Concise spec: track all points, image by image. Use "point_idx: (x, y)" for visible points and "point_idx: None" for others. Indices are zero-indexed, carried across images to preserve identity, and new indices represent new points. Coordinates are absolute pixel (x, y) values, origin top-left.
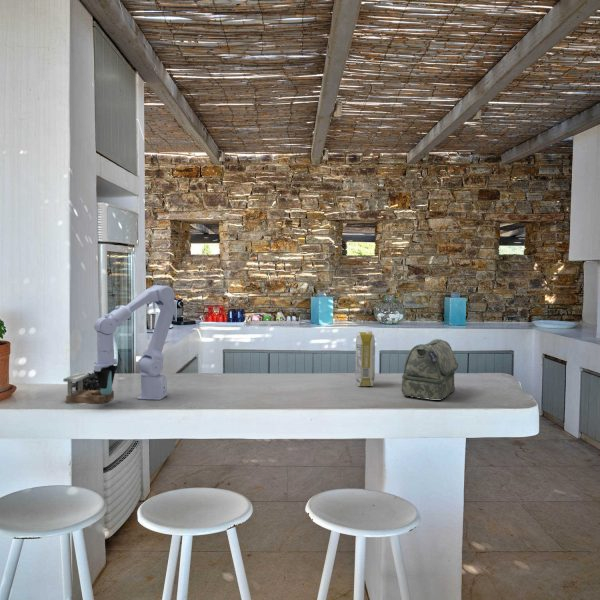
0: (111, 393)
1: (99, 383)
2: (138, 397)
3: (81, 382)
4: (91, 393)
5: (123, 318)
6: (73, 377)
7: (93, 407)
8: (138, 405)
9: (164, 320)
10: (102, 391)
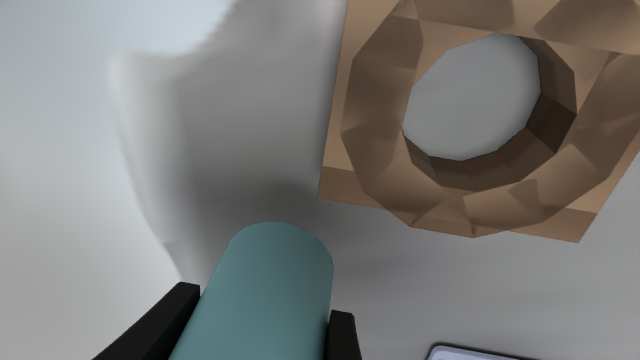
0: (518, 226)
1: (129, 329)
2: (446, 357)
3: None
4: (521, 35)
5: None
6: None
7: (210, 127)
8: None
9: None
10: (217, 265)
